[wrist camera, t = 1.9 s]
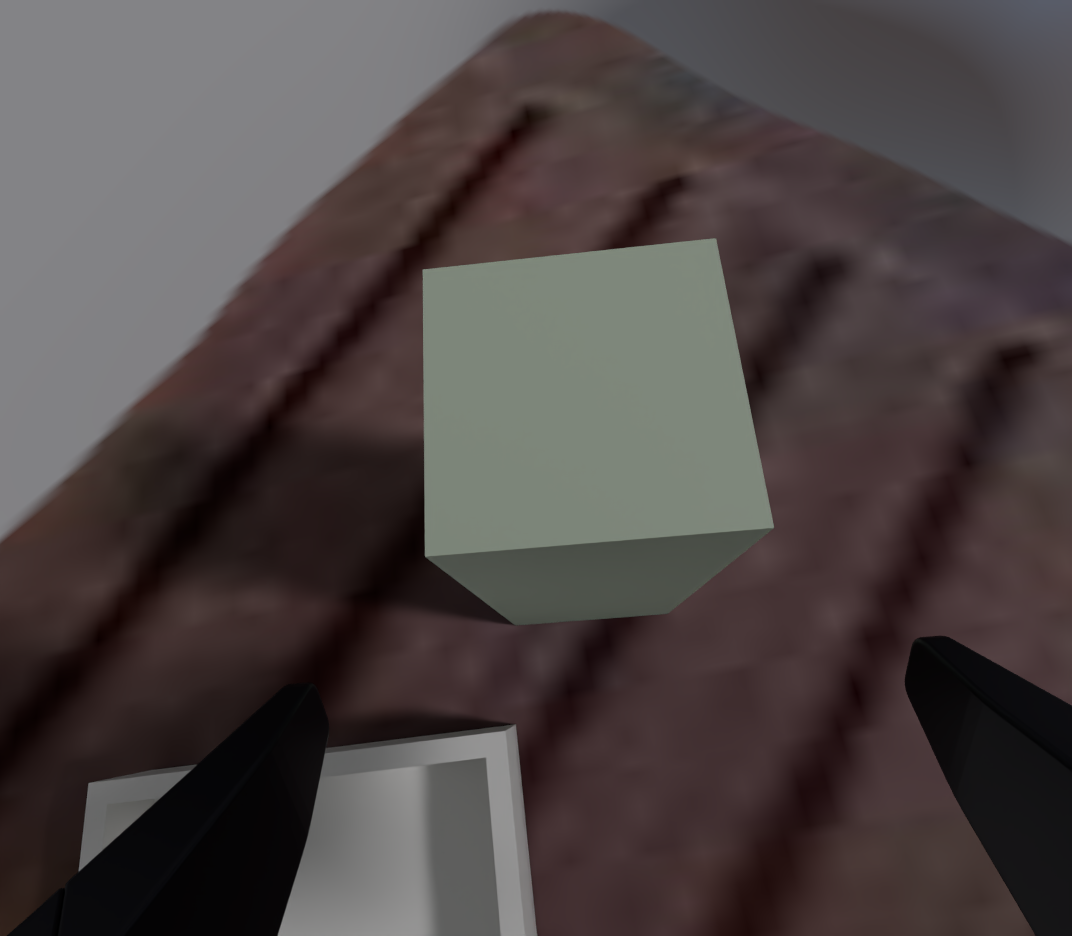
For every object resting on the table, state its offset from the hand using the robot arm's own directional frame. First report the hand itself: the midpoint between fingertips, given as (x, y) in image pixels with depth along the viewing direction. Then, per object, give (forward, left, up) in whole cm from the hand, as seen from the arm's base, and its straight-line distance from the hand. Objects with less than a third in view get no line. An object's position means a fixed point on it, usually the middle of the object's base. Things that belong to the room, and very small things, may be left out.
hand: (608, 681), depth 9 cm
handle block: (+4, +2, -11) cm, 12 cm away
